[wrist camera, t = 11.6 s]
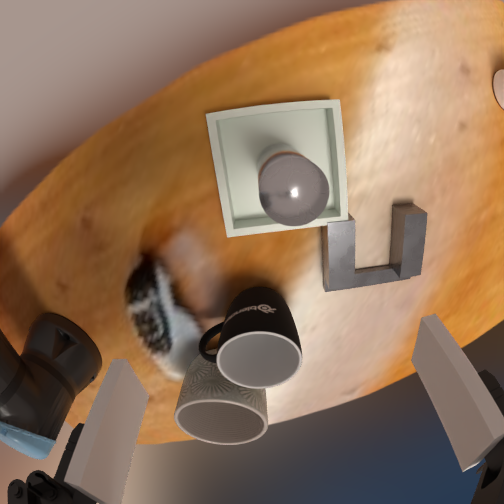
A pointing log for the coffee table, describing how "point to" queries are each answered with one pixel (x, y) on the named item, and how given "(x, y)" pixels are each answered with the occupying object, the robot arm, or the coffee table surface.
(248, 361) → the mug
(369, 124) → the coffee table surface
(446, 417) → the robot arm
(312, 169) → the pin
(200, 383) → the planter
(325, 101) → the tray
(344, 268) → the hitch clevis
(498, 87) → the can
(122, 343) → the coffee table surface
